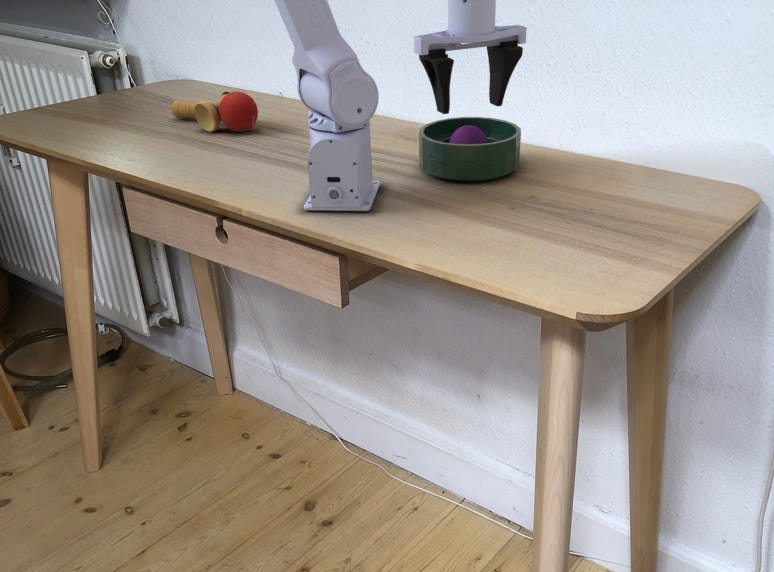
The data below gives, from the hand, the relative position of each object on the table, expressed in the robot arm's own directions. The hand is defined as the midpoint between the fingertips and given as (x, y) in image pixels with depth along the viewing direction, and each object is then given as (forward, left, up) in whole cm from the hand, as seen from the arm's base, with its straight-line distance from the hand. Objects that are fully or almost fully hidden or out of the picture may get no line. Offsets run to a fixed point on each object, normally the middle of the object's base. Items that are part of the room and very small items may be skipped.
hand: (469, 108), depth 97 cm
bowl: (0, 0, -8) cm, 8 cm away
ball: (0, 0, -5) cm, 5 cm away
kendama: (+20, +42, -8) cm, 47 cm away
